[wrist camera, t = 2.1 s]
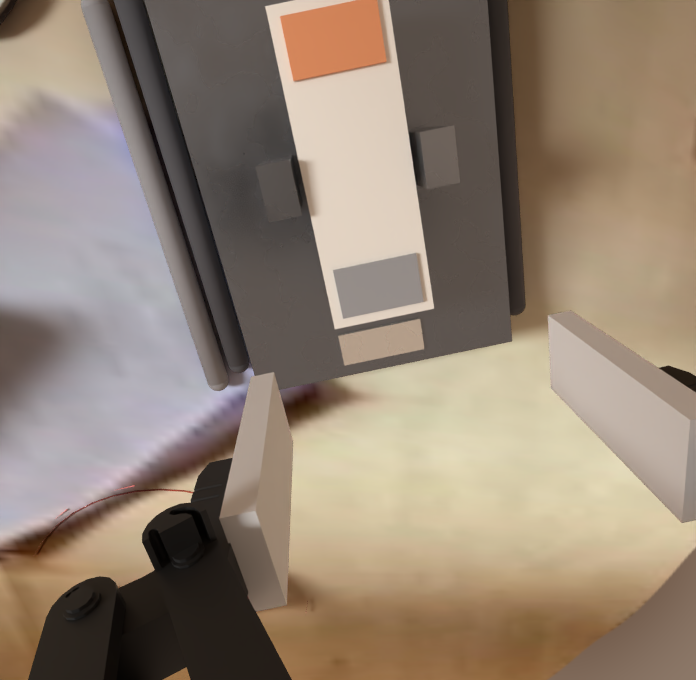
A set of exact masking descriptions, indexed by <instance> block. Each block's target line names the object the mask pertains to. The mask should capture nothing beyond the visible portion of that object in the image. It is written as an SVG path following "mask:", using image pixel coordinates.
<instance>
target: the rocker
mask: <svg viewBox="0 0 696 680" xmlns="http://www.w3.org/2000/svg"><path fill="white" fill-rule="evenodd" d="M265 8H266V13H267V17H268V22H269V26H270V31H271V36H272V40H273V45H274V50H275V54H276V59H277V63H278V68H279V73H280V77H281V82H282V87H283V91H284V96H285V101H286V105H287V110H288V114H289V119H290V124H291V128H292V133H293V138H294V142H295V147H296V152H297V156H298V161H299V165H300V170H301V175H302V179H303V184H304V189H305V193H306V198H307V202H308V207H309V212H310V216H311V221H312V226H313V230H314V235H315V240H316V244H317V249H318V253H319V258H320V263H321V267H322V272H323V277H324V281H325V286H326V291H327V295H328V300H329V304H330V309H331V314H332V318H333V323H334V328H335V329H339V328H344V327H349V326H353V325H358V324H363V323H368V322H373V321H377V320H382V319H387V318H392V317H396V316H401V315H406V314H411V313H416V312H420V311H425V310H430V309H434V304H433V297H432V290H431V283H430V277H429V270H428V263H427V256H426V249H425V243H424V236H423V229H422V222H421V216H420V209H419V202H418V195H417V189H416V182H415V175H414V168H413V161H412V155H411V148H410V141H409V134H408V128H407V121H406V114H405V107H404V100H403V94H402V87H401V80H400V73H399V67H398V60H397V53H396V46H395V40H394V33H393V26H392V19H391V12H390V6H389V0H293V1H288V2H283V3H279V4H274V5H269V6H265Z"/></svg>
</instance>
